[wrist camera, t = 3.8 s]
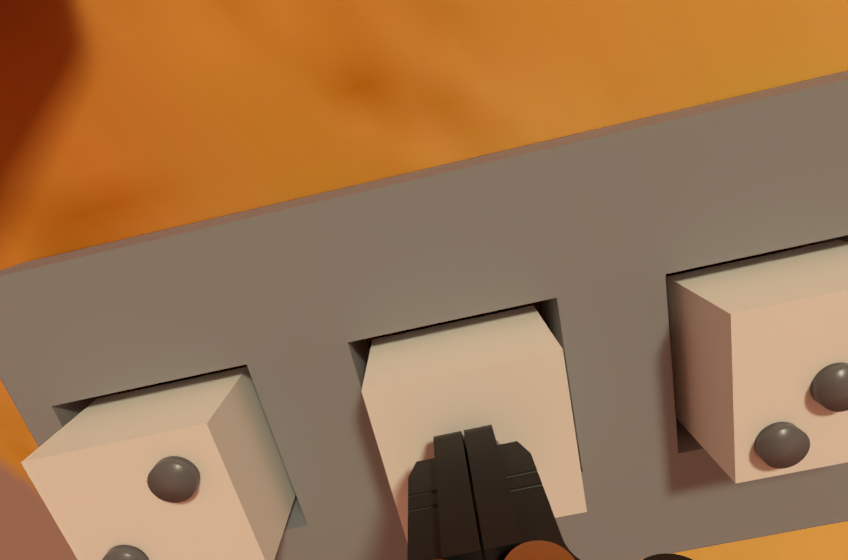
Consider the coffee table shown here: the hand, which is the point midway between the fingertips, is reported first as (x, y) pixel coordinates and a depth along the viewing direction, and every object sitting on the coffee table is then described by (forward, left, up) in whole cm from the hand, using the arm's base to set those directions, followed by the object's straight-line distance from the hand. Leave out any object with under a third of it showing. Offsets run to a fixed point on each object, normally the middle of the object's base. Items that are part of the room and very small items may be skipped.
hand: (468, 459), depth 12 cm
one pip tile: (0, 0, -3) cm, 3 cm away
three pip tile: (-9, 0, -3) cm, 10 cm away
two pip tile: (+9, 0, -3) cm, 9 cm away
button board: (0, 0, -5) cm, 5 cm away
